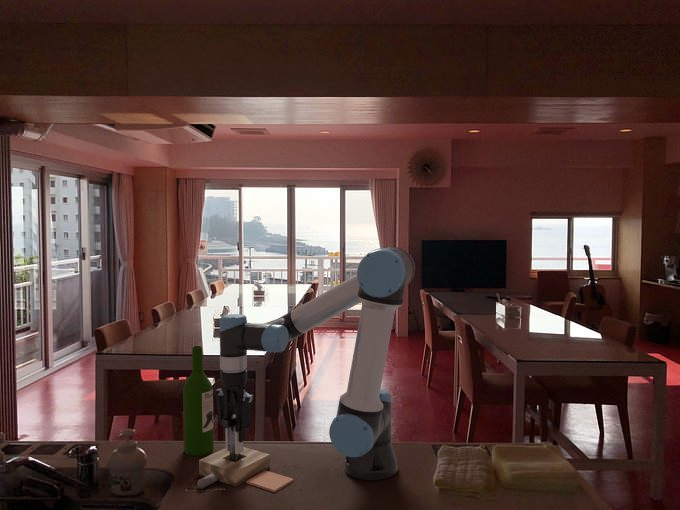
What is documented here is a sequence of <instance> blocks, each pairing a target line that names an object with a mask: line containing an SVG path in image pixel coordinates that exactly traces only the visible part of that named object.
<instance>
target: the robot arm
mask: <svg viewBox="0 0 680 510" xmlns="http://www.w3.org/2000/svg"><path fill="white" fill-rule="evenodd" d="M356 269H357V270H356V271H357V272H356V274H355V275H353V276H351V277H349V278H348V279H346V280H344V281H342V282H341V283H338V284H337V285H335V286H334V287H331V288H330V289H328V290H327V291H325V292H323V293H321V294H318V296H316V297H314V298H312V299H311V300H309V301H307V302H305V303H303V304H302V305H300V306H299V307H296V308H295V309H292V311H289V312H288V313H286V314H284V315H282V316H280V317H277V318H276V319H273V320H270V321H267V322H265V323H255V322H254V323H252V322H248V320H247V316H246V315H244V314H240V313H238V314H237V313H235V314H234V313H233V314H232V313H229V314H225V315H222V316H221V317H220V319H219V330H218V332H219V369H220V372H219V377H220V380H219V383H220V384H221V387H219V388H217V389H215V390H213V393H214V396H215V398H216V399H215V400H216V410H217V422H218V424H219V425H222V419H224V418H226V417H229V416H231V415H234V414H235V416H236V425H237V430H235V454H239V453H241V452H243V451H244V447H245V446H244V445H245V444H244V441H245V440H246V430H248V429H250V428H252V415H253V414H252V413H253V401H254V399H255V395H254V394H250V393H248V390H247V387H246V384H247V382H248V369H247V367H248V351H255V352H267V353H270V354H271V353H283V352H284V351H285V350H286V348H287V346H288V343H289V342H291V341H293V340H296V339H297V338H298V337H301V336H302V335H304V334H305V333H307V332H309V331H310V330H313V329H314V328H316V327H318V326H321V325H322V324H324V323H326V322H328V321H329V320H331V319H333V318H335V317H336V316H339V315H341V314H342V313H344V312H346V311H348V310H351V309H352V308H353V307H355V306H357V305H359V304H361V309H360V315H359V319H358V320H359V321H358V326H357V327H358V328H357V332H356V337H355V343H354V347H353V355H352V359H351V364H350V365H351V367H350V371H349V378H348V381H347V388H346V392H344V393H342V395H340V397H339V400H338V405H337V411H336V417H334V418H333V419H332V421H331V423H330V425H329V430H328V433H329V434H328V435H329V439H330V441H331V444H332V445H333V447H334V448H335V450H337V451H338V452H339V453H340V454H342V455H344V456H345V458H344V471H345V473H346V474H347V475H348V476H350V477H352V478H354V479H357V480H363V481H381V480H386V479H389V478H392V477H393V476H395V475H396V474H397V472H398V460H397V456H396V454H395V451H394V447H393V445H392V403H393V402H392V394H391V393H390V392H389V391H388V390H386V389H382V388H381V387H382V383H383V377H384V372H385V367H386V362H387V356H388V351H389V346H390V345H389V344H390V339H391V333H392V328H393V325H394V319H395V313H396V310H397V309H398V308H400V307H402V306H403V302H404V298H405V297H404V296H405V292H406V287H407V286H408V285H409V284H410V283H411V282H412V281H413V278H414V276H415V271H416V266H415V262H414V259H413V257H412V255H410V253H409V252H407V250H405V249H403V248H400V247H396V246H390V247H379V248H376V249H373V250H371V251H370V252H368V253H367V254H365V255H364V256H363V258H362V259H361V260H360V261H359V264H358V266H357V268H356ZM223 438H225V448H226V451H229V428H226V427H223Z"/></svg>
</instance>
